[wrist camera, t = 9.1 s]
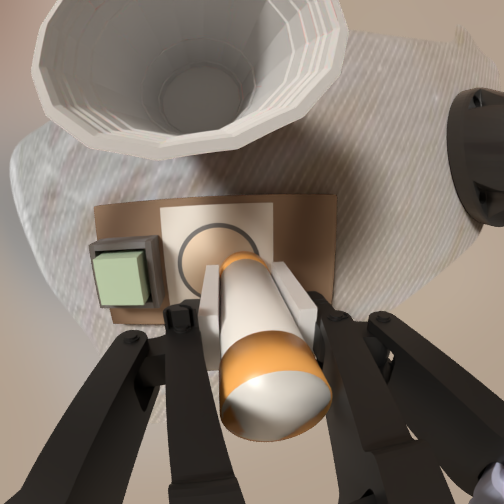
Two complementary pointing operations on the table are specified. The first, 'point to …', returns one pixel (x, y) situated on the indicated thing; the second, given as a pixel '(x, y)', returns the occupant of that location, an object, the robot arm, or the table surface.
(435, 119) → the table surface
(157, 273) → the board
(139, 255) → the button
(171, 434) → the robot arm
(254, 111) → the plastic cup
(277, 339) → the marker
